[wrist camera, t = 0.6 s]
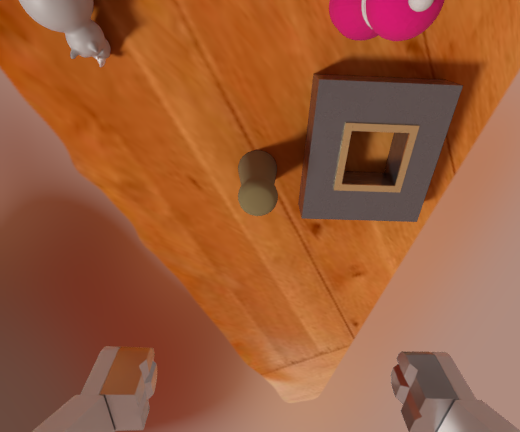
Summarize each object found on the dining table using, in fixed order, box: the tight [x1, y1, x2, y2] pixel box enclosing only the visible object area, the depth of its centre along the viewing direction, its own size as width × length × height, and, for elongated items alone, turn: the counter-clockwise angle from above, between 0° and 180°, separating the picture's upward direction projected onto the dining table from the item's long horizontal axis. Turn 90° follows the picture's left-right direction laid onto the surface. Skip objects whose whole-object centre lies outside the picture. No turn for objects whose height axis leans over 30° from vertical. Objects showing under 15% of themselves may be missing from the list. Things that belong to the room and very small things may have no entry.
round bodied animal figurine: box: [19, 0, 111, 67], centre depth 38 cm, size 7×12×8 cm, turn 13°
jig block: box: [299, 74, 463, 222], centre depth 48 cm, size 20×18×5 cm
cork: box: [238, 150, 278, 216], centre depth 47 cm, size 6×6×11 cm
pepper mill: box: [329, 0, 444, 41], centre depth 32 cm, size 7×7×20 cm
